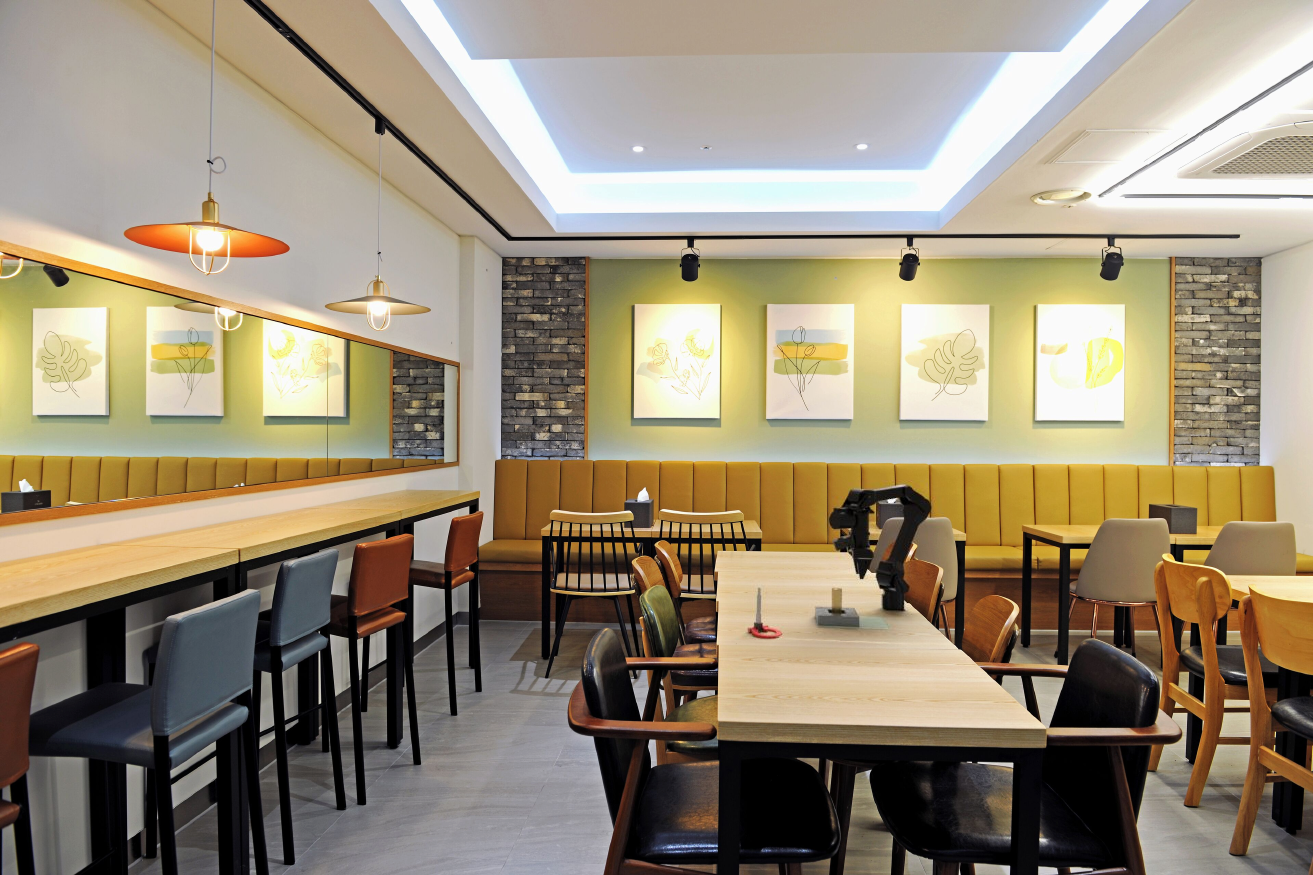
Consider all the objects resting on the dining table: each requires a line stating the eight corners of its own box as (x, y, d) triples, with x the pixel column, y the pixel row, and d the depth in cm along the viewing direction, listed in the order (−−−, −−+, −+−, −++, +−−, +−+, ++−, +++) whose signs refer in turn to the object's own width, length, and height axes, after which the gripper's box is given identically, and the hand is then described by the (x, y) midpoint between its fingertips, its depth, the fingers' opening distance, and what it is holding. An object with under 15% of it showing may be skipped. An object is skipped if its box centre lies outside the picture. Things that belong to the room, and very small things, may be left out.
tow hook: (787, 637, 208) (768, 628, 216) (789, 593, 207) (769, 585, 215) (763, 641, 204) (744, 632, 212) (764, 596, 203) (745, 588, 212)
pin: (841, 620, 225) (841, 587, 225) (842, 622, 222) (842, 589, 222) (831, 619, 225) (831, 587, 225) (832, 622, 222) (832, 589, 223)
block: (854, 617, 229) (854, 607, 229) (859, 626, 217) (859, 616, 217) (815, 615, 231) (815, 606, 231) (818, 625, 219) (818, 615, 219)
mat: (883, 618, 229) (883, 617, 229) (891, 630, 214) (891, 629, 214) (814, 616, 232) (814, 614, 232) (818, 627, 217) (818, 626, 217)
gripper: (831, 524, 246) (831, 570, 246) (837, 530, 227) (836, 581, 227) (865, 524, 244) (865, 571, 244) (874, 531, 226) (873, 582, 226)
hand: (859, 576), depth 235 cm, fingers open, 9 cm apart
